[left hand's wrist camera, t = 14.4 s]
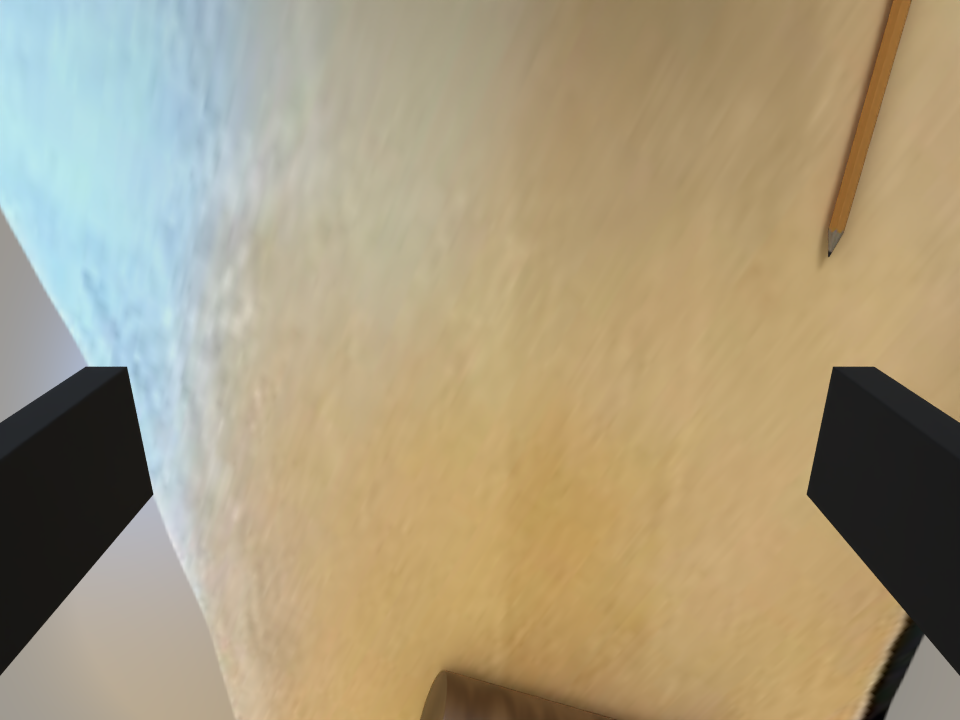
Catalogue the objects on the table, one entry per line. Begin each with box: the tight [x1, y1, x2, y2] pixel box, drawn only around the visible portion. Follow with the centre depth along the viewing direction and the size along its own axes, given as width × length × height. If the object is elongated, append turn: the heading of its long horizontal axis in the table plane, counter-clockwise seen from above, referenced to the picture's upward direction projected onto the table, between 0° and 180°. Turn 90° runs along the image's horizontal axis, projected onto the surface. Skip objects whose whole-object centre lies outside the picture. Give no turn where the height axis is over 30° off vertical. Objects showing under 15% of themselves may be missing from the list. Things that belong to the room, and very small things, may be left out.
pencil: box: [828, 0, 911, 257], centre depth 38 cm, size 1×1×19 cm
